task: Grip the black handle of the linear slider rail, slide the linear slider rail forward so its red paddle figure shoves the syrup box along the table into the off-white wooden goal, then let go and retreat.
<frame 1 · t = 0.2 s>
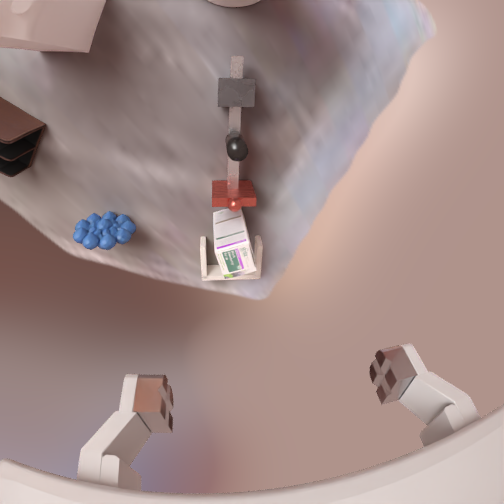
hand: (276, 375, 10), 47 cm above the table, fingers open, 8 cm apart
grapes: (113, 219, 56), on the table
grey hollow block: (234, 91, 45), on the table
goal: (230, 250, 63), on the table
syrup box: (230, 220, 59), on the table
linear slider rail: (235, 131, 43), point 7 cm above the table, slide at 0.0 cm
letter holder: (8, 126, 41), on the table
milk: (72, 22, 33), on the table
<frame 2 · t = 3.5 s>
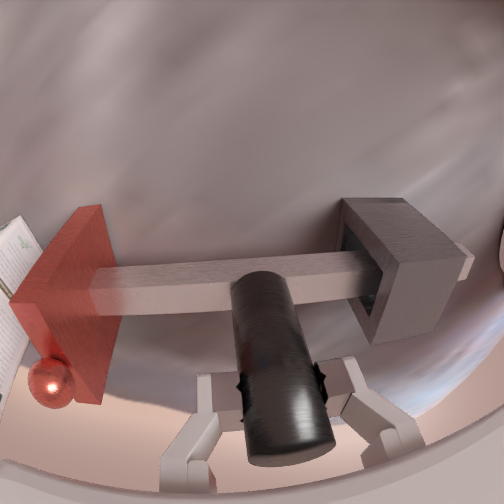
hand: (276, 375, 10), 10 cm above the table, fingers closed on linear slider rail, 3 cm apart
grey hollow block: (367, 234, 19), on the table
syrup box: (20, 257, 17), on the table
linear slider rail: (305, 316, 13), point 7 cm above the table, slide at 0.0 cm, touching gripper
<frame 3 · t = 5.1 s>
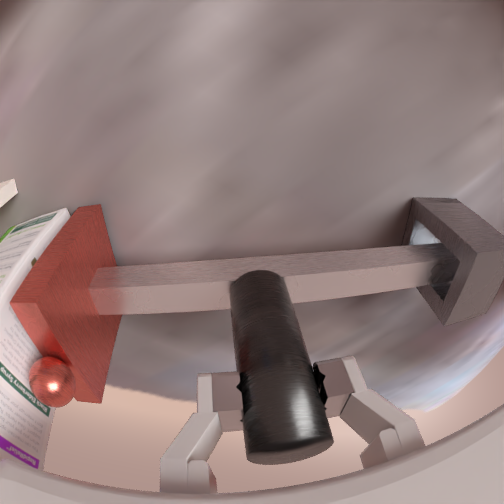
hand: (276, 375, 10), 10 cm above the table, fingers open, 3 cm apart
grey hollow block: (427, 230, 20), on the table
goal: (7, 260, 17), on the table
syrup box: (55, 251, 17), on the table
linear slider rail: (304, 315, 13), point 7 cm above the table, slide at 5.6 cm, touching gripper
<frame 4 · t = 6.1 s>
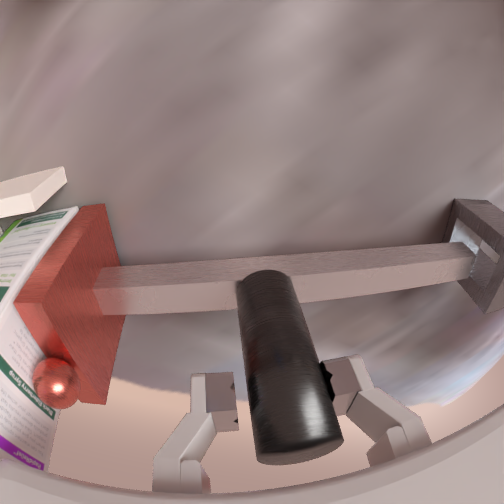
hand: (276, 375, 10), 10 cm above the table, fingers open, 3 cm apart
grey hollow block: (463, 229, 20), on the table
goal: (46, 256, 17), on the table
syrup box: (61, 248, 17), on the table, touching linear slider rail
linear slider rail: (311, 315, 13), point 7 cm above the table, slide at 9.5 cm, touching gripper, syrup box
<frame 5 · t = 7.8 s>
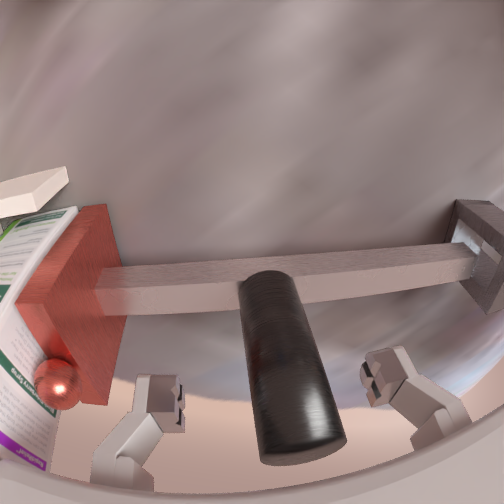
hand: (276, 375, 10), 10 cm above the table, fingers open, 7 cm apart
grey hollow block: (465, 229, 20), on the table
goal: (47, 256, 17), on the table
syrup box: (59, 248, 17), on the table
linear slider rail: (313, 315, 13), point 7 cm above the table, slide at 9.6 cm
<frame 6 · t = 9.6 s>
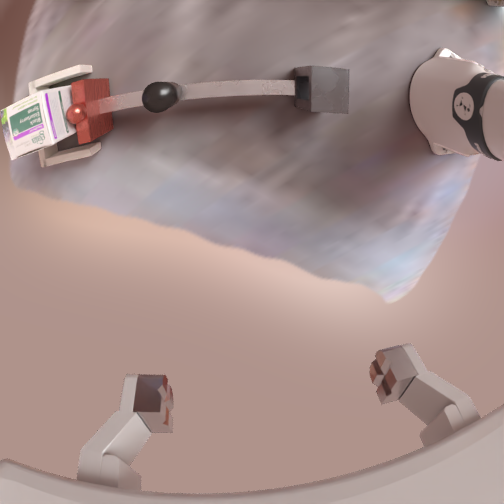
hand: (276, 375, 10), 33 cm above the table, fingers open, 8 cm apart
grey hollow block: (311, 87, 35), on the table
goal: (73, 112, 32), on the table
syrup box: (80, 107, 32), on the table
linear slider rail: (184, 92, 27), point 7 cm above the table, slide at 9.6 cm
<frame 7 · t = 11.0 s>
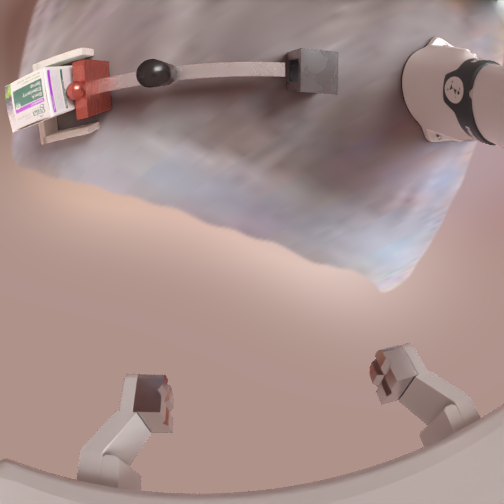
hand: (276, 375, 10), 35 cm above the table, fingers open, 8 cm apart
grey hollow block: (303, 72, 35), on the table
goal: (74, 93, 32), on the table
syrup box: (81, 88, 32), on the table
linear slider rail: (178, 72, 28), point 7 cm above the table, slide at 9.6 cm
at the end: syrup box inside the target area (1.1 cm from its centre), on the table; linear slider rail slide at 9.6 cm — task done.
